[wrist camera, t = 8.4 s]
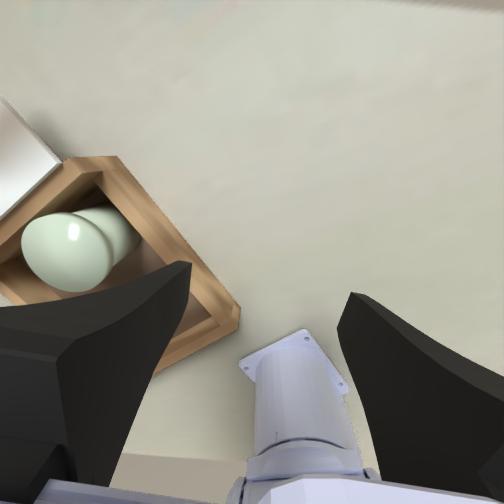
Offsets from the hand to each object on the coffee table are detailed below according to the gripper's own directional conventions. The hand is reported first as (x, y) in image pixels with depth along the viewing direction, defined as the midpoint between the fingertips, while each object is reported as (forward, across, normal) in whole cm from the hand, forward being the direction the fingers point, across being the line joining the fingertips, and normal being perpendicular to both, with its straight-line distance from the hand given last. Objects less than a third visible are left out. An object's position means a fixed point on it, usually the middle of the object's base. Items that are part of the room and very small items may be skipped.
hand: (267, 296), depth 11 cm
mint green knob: (+9, +12, +2) cm, 15 cm away
